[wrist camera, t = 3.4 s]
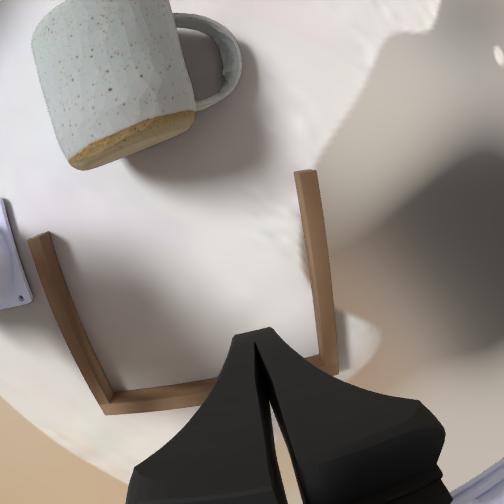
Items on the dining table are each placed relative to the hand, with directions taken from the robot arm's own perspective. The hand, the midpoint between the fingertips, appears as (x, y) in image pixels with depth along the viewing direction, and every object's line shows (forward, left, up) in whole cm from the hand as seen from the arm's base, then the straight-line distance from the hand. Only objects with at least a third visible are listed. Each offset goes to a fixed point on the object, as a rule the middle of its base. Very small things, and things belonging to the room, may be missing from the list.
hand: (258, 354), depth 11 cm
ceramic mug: (-3, +12, -11) cm, 17 cm away
